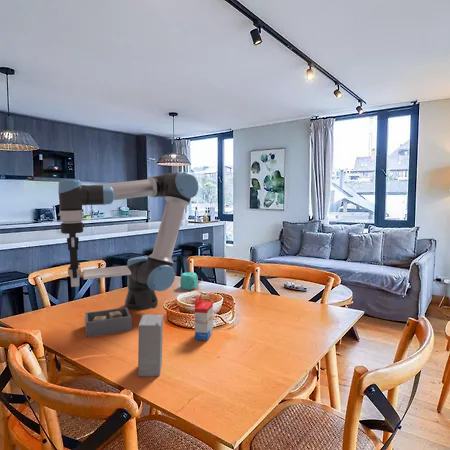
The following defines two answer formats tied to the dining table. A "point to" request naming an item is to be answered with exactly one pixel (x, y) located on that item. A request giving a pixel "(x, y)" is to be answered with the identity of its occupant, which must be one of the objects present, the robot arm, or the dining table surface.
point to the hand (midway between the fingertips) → (75, 284)
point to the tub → (107, 322)
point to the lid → (103, 272)
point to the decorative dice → (189, 281)
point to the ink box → (203, 319)
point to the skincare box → (150, 345)
